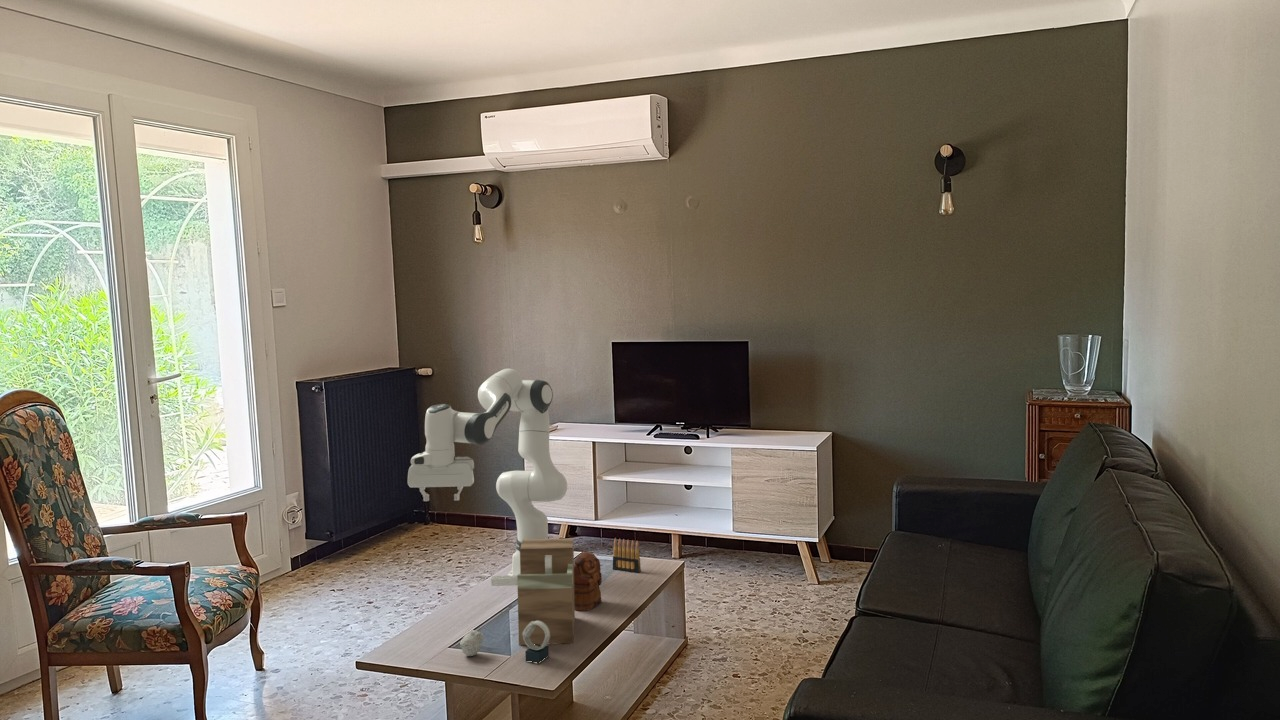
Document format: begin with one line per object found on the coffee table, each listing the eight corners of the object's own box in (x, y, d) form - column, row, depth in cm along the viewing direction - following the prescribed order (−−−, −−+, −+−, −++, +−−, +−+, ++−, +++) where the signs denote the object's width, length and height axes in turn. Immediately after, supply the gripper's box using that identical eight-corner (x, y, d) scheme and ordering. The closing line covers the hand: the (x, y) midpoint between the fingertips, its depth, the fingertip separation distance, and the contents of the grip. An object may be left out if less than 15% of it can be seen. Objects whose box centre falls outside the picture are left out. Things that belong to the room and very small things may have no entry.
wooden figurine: (585, 613, 285) (584, 559, 283) (569, 609, 288) (568, 556, 286) (605, 601, 295) (604, 549, 293) (590, 598, 298) (589, 546, 296)
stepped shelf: (524, 619, 281) (522, 539, 278) (574, 617, 281) (573, 538, 279) (518, 645, 261) (516, 559, 258) (573, 643, 261) (571, 558, 259)
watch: (530, 652, 255) (529, 616, 254) (554, 657, 252) (553, 620, 251) (519, 660, 250) (518, 623, 249) (543, 665, 247) (543, 627, 246)
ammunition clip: (612, 569, 327) (612, 538, 326) (614, 568, 329) (614, 536, 328) (638, 573, 323) (638, 541, 322) (640, 571, 325) (640, 540, 324)
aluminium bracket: (492, 582, 265) (491, 556, 264) (552, 580, 266) (552, 555, 265) (491, 585, 262) (490, 559, 261) (552, 584, 263) (551, 558, 262)
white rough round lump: (487, 654, 254) (487, 631, 254) (467, 662, 250) (466, 638, 249) (476, 648, 259) (475, 625, 258) (455, 655, 254) (454, 632, 253)
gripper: (475, 454, 278) (476, 497, 279) (409, 455, 277) (411, 498, 278) (472, 458, 272) (473, 502, 273) (405, 459, 271) (407, 503, 272)
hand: (441, 500), depth 276 cm, fingers open, 8 cm apart
